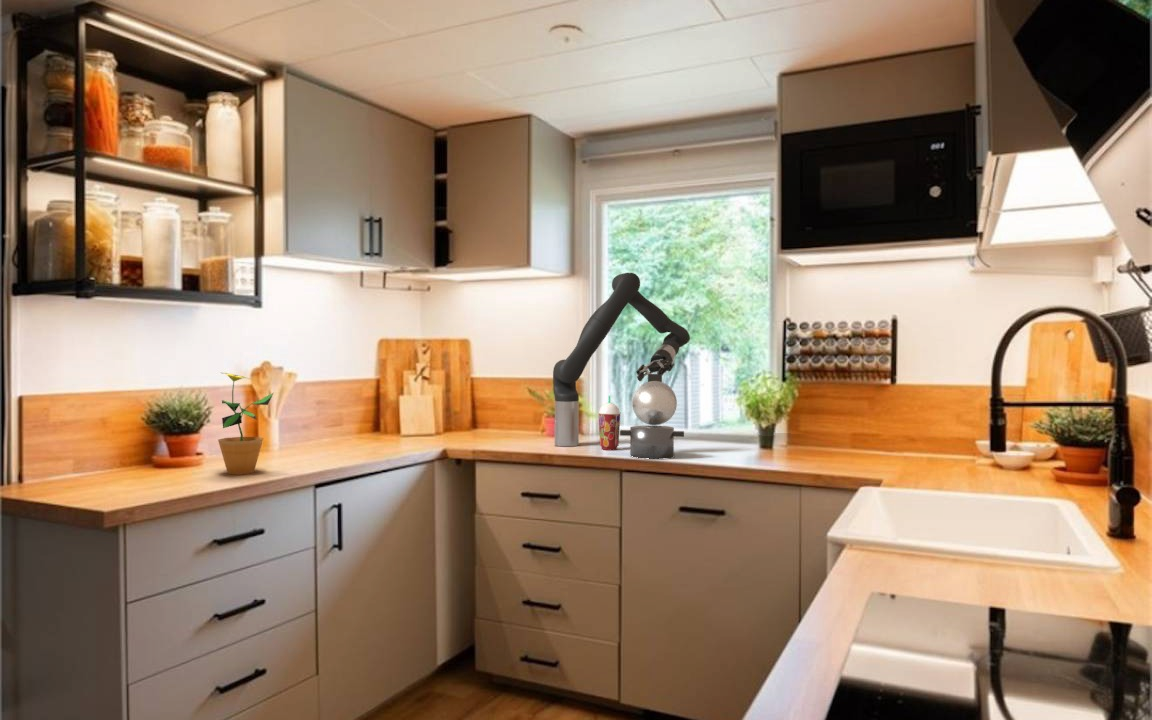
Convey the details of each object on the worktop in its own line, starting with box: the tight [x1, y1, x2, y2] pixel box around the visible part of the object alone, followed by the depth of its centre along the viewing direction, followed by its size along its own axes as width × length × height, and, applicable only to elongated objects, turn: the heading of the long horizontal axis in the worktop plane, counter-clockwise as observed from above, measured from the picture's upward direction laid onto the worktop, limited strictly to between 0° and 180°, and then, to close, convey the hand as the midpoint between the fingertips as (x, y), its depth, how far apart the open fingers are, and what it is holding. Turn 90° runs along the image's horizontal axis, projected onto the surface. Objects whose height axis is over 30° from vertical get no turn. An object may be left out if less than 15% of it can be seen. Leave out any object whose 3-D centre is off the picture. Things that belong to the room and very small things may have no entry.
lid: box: [631, 373, 678, 426], centre depth 279 cm, size 19×16×2 cm
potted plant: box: [217, 372, 274, 475], centre depth 229 cm, size 18×19×30 cm
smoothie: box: [597, 395, 622, 451], centre depth 286 cm, size 8×8×20 cm
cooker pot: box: [619, 425, 685, 460], centre depth 268 cm, size 17×22×10 cm
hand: (648, 377), depth 288 cm, fingers open, 8 cm apart
